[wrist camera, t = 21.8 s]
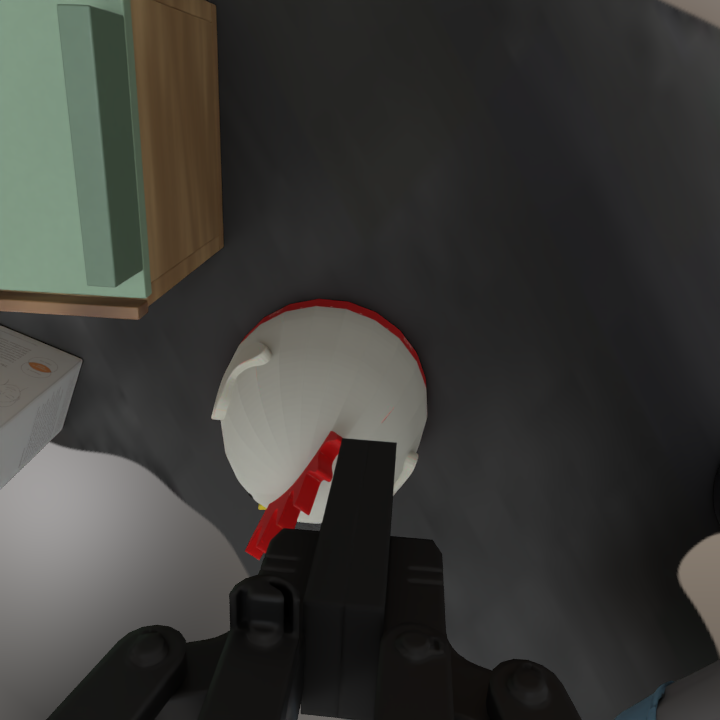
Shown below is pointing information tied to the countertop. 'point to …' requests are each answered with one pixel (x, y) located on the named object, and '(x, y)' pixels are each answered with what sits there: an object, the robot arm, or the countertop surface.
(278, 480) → the white toy chicken
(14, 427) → the small box
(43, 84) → the lid
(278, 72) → the countertop surface
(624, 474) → the countertop surface
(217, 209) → the case
